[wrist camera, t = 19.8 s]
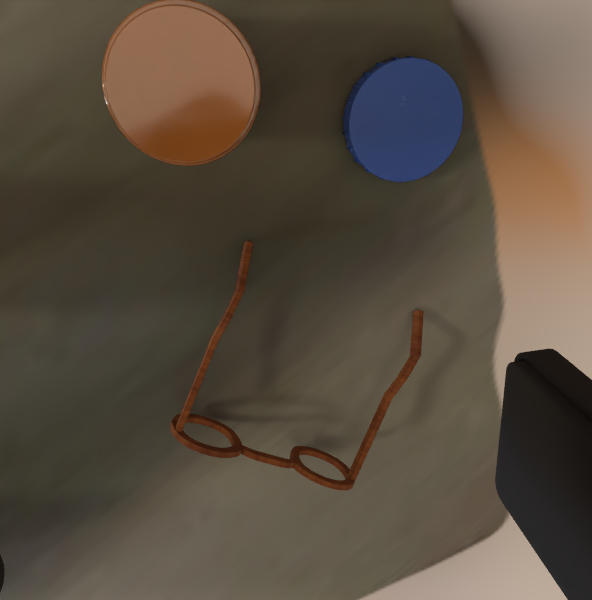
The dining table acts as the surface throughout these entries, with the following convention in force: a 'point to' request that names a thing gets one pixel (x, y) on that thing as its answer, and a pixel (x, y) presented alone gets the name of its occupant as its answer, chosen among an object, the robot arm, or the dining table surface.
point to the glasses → (294, 459)
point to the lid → (403, 118)
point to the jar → (181, 82)
